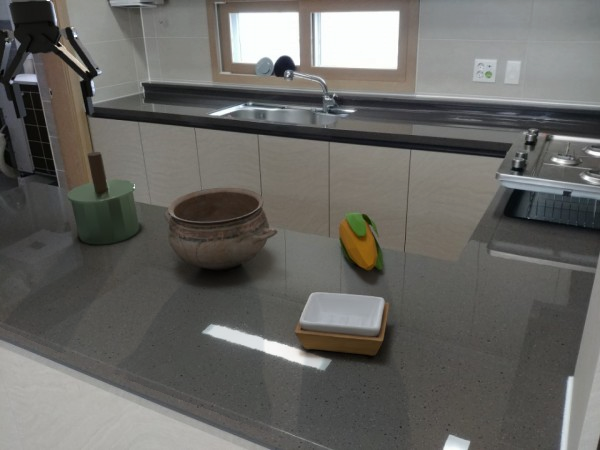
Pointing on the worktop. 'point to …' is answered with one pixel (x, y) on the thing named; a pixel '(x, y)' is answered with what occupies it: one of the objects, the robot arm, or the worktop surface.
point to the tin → (106, 220)
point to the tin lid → (100, 185)
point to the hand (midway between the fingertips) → (56, 115)
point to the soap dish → (343, 323)
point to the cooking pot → (218, 227)
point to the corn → (360, 241)
